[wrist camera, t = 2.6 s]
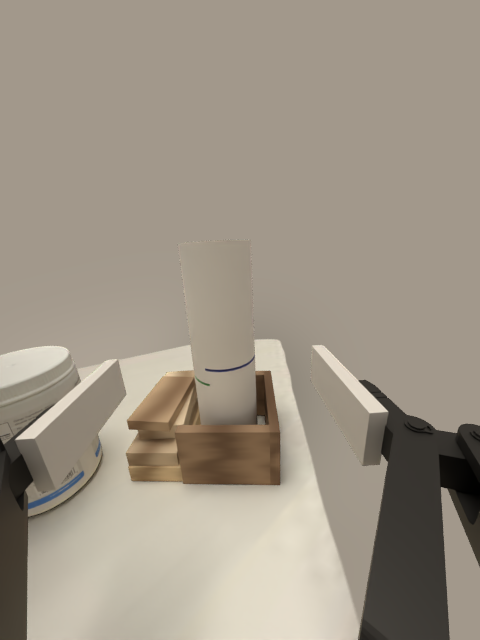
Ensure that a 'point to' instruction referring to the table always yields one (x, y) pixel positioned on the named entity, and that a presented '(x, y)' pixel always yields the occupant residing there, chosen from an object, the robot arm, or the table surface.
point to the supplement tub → (32, 399)
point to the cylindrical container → (221, 328)
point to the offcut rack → (202, 438)
